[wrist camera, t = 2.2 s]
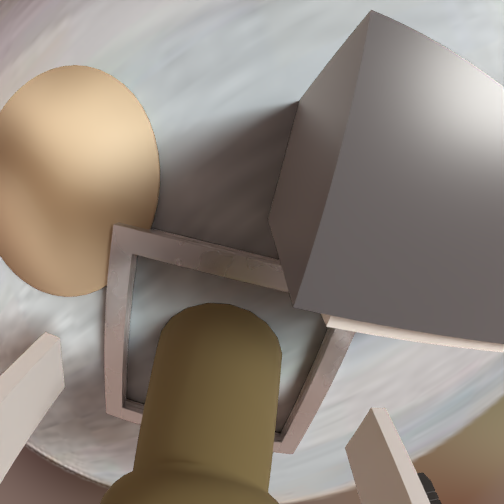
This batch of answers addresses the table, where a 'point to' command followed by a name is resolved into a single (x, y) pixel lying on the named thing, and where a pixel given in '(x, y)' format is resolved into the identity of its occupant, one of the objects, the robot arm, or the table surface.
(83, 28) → the table surface
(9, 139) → the tan round coaster
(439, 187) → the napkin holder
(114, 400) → the taupe square frame
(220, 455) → the pepper shaker
